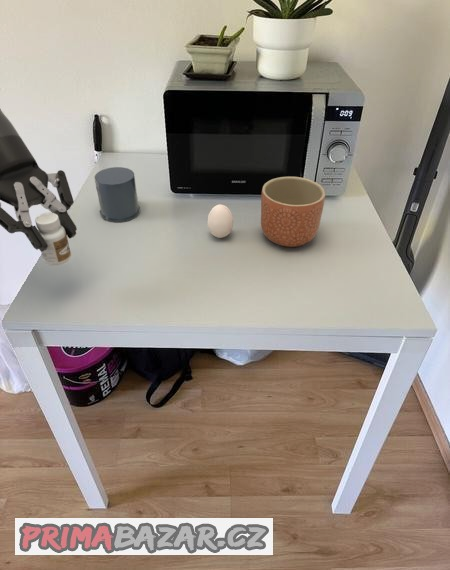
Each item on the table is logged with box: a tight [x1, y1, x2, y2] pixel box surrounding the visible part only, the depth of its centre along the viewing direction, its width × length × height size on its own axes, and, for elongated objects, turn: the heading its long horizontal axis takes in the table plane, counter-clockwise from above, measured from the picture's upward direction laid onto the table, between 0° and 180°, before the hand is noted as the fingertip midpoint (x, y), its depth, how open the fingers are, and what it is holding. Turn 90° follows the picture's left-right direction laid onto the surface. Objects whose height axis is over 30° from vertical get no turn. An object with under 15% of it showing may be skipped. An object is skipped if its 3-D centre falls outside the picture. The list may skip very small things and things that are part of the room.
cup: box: [94, 166, 141, 224], centre depth 98 cm, size 9×9×9 cm
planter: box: [260, 176, 326, 248], centre depth 90 cm, size 12×12×11 cm
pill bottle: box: [34, 212, 72, 267], centre depth 71 cm, size 4×4×8 cm
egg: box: [207, 204, 234, 239], centre depth 91 cm, size 5×5×7 cm
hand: (59, 242), depth 70 cm, fingers closed on pill bottle, 4 cm apart
